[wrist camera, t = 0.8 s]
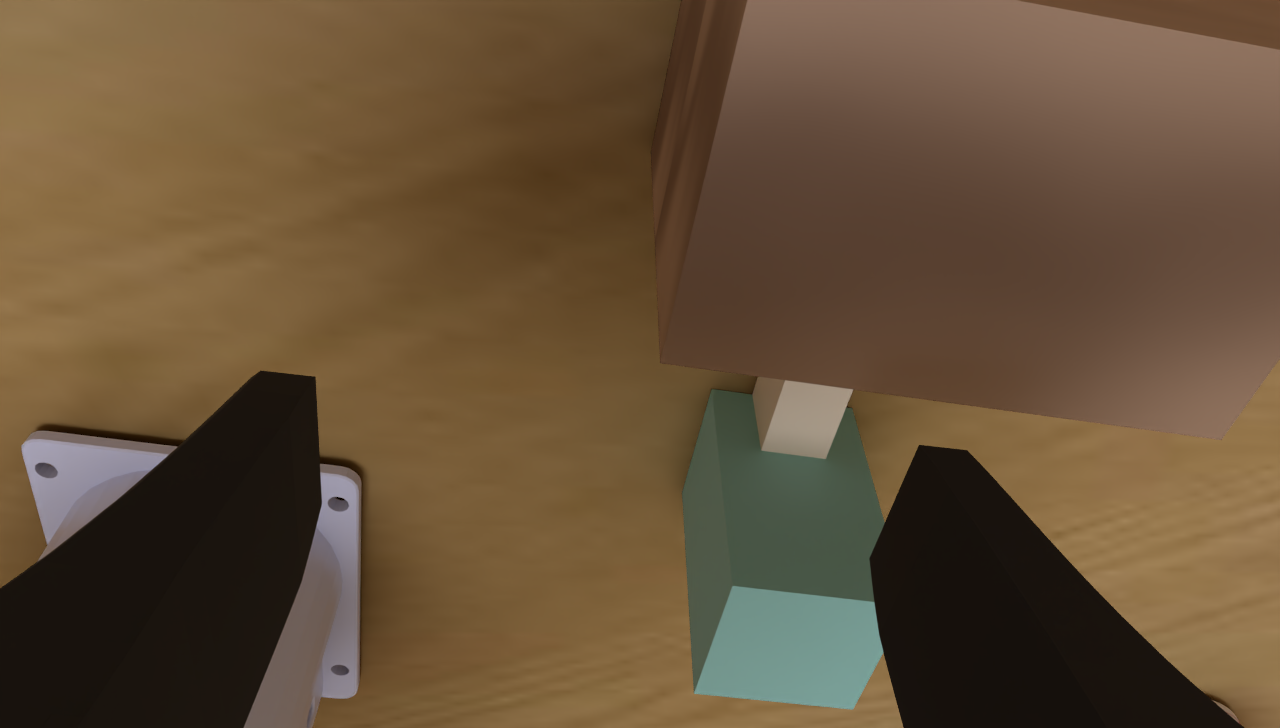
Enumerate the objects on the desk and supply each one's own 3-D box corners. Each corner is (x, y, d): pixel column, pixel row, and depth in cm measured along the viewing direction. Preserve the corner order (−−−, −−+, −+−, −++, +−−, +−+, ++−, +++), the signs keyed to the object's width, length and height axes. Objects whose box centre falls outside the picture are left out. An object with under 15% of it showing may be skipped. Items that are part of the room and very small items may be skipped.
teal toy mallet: (811, 508, 26) (852, 709, 21) (682, 492, 25) (694, 693, 21) (1067, -127, 17) (1244, -27, 12) (870, -168, 16) (971, -82, 11)
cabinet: (1069, 220, 21) (1233, 441, 15) (650, 153, 20) (660, 363, 14) (1210, -62, 17) (1490, 89, 12) (714, -161, 16) (759, -49, 11)
